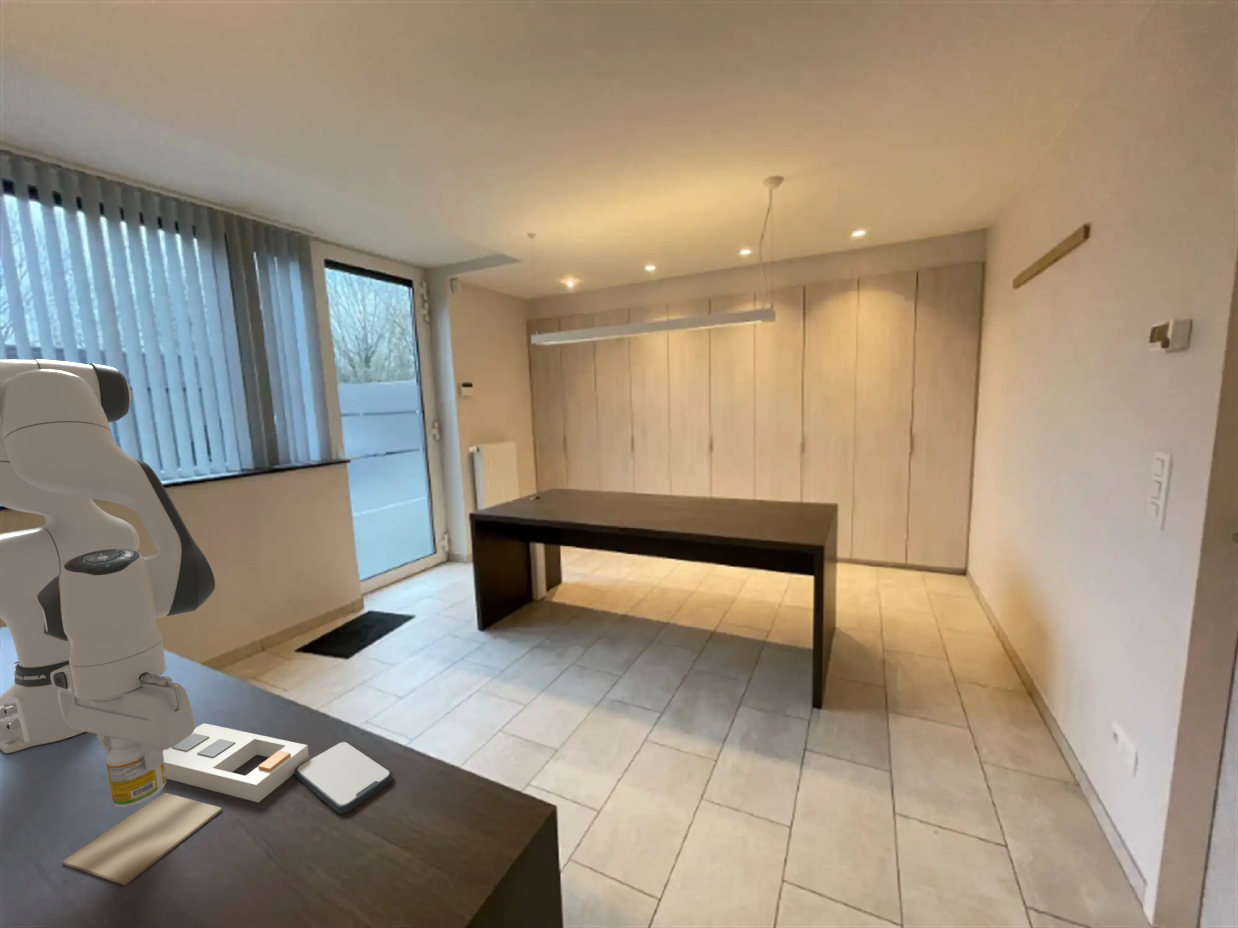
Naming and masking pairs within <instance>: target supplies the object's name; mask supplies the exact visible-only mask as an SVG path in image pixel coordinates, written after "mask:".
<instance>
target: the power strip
mask: <svg viewBox="0 0 1238 928" xmlns="http://www.w3.org/2000/svg"><path fill="white" fill-rule="evenodd" d="M308 749H309V748H308V745H307V744H304V743H299V742H294V741H289V740H285V739H280V738H276V737H272V736H266V735H262V734H256V733H253V732H248V731H243V730H238V729H233V728H229V727H224V726H219V725H214V724H210V723H209V724H208V723H204V722H203V723H202V724H199V725H198V726H195V729H194V732H193V733H192V735H191V736H189V737H188V738H186V739H185V740H183V741H182V742H180V743H178V744H177V745H175V746H173V747H171V748H169V749H167V750H164V751H163V757H164V762H163V763H164V769H165V775H166V780H171V781H175V782H179V783H182V784H186V785H190V786H193V787H197V788H200V789H201V788H202V789H205V790H209V791H212V792H217V793H220V794H224V795H228V796H232V797H236V798H238V799H239V798H240V799H243V800H248V801H251V802H255V803H260V802H261V801H263V799H265V798H266V797H267V796H268V795H270V794H271V793H272V792H273V791H275V789H277V788H278V787H279V786H281V784H284V782H286V781H287V780H288V779H289V778H290V777H292V776H293V775H295V769H296V768H297V767H298V766H299V765H301V764H302V763H304V762H306V761H308V760H309V759H310V756H309V755H310V754H309V750H308ZM255 756H262V757H265V758H267V759H266V760H264V761H263V762H261V763H260V764H258V766H257V767H255V768H254V769H253V770H252V771H250V772H249V773H247V774H246V775H243V774H239V773H235V771H236V770H237V769H238V768H240V767H241V766H243V765H244V764H246V763H247V762H249V761H250V760H252V759H253V758H254V757H255Z"/></svg>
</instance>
